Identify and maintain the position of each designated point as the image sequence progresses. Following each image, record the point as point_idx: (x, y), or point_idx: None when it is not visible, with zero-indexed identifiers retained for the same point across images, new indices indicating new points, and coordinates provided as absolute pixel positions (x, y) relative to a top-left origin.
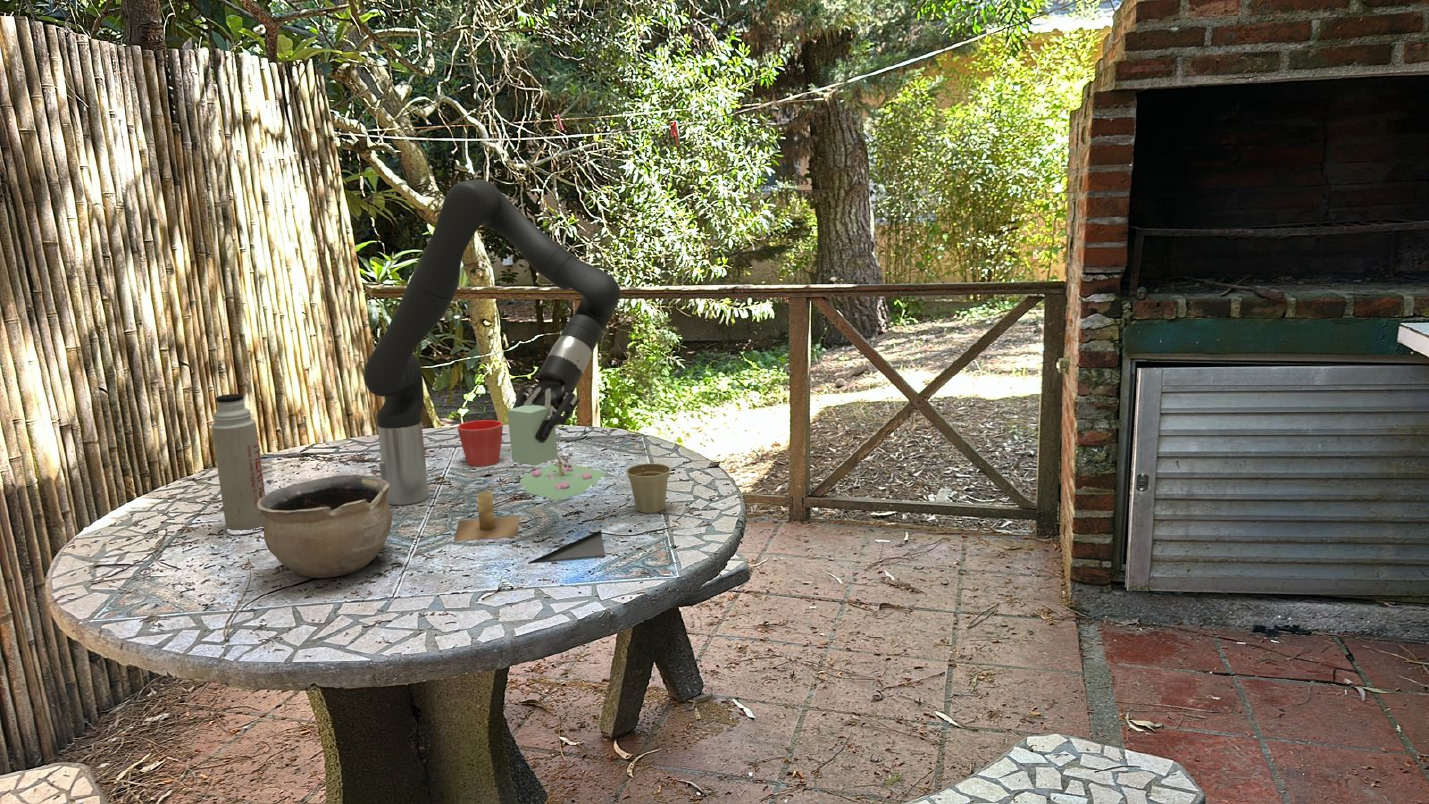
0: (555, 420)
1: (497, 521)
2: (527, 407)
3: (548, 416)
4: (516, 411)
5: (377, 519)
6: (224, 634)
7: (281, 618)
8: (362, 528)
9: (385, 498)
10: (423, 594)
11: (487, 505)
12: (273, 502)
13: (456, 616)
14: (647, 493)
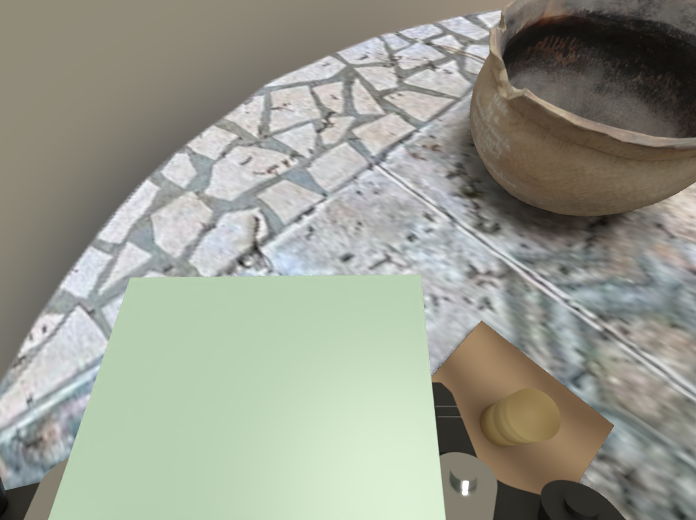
0: (18, 496)
1: (526, 480)
2: (314, 456)
3: (60, 471)
4: (302, 277)
5: (490, 120)
6: (445, 46)
7: (435, 81)
8: (476, 98)
9: (550, 134)
10: (346, 187)
11: (500, 405)
12: (685, 24)
13: (252, 173)
14: None
